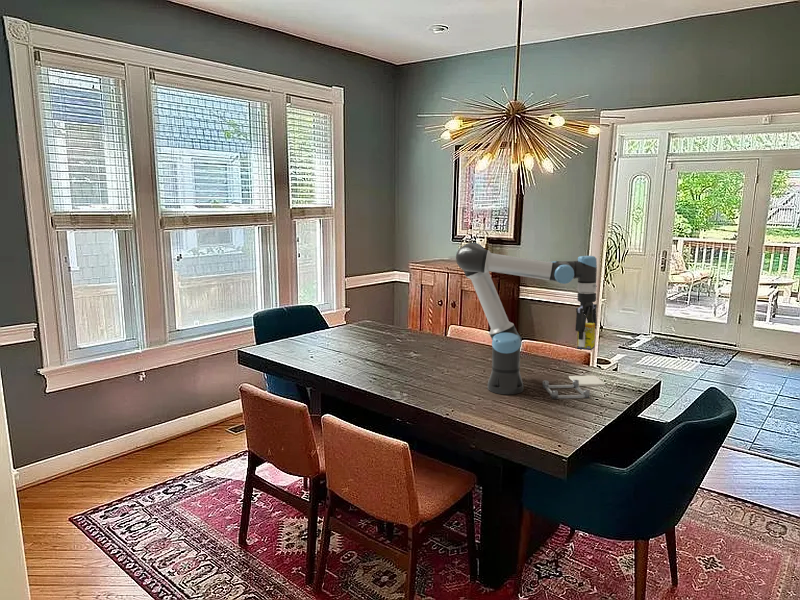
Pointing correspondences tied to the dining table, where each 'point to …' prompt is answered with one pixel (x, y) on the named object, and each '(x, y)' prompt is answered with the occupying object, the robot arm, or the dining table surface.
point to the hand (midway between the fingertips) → (585, 344)
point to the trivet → (588, 380)
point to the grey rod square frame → (575, 385)
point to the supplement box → (589, 337)
